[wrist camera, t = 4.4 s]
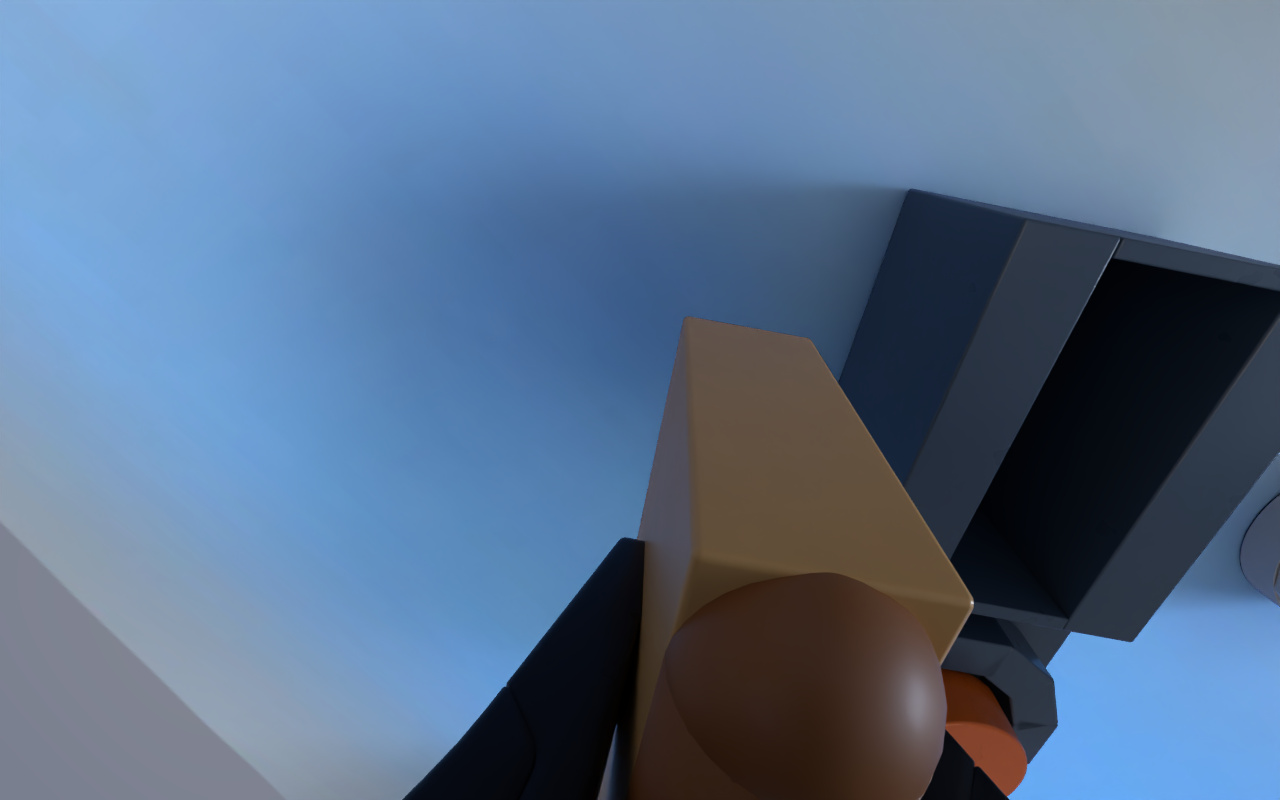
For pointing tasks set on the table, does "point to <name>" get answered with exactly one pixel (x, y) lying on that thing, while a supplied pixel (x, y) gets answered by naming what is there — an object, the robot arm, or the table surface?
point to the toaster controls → (1012, 672)
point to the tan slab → (780, 593)
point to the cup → (1264, 552)
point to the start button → (983, 729)
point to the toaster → (1066, 403)
